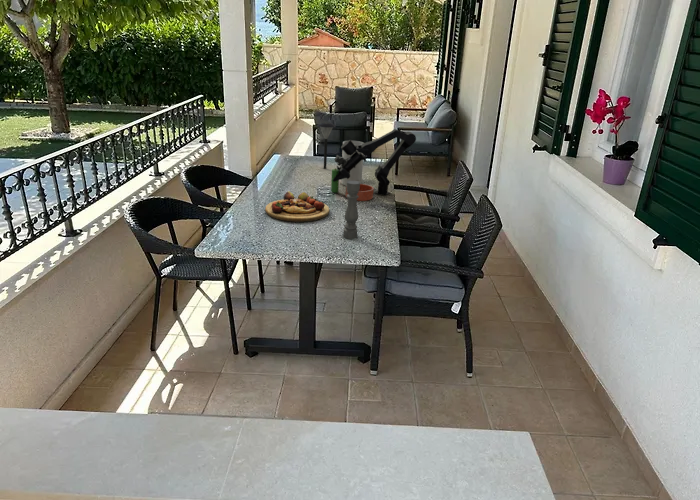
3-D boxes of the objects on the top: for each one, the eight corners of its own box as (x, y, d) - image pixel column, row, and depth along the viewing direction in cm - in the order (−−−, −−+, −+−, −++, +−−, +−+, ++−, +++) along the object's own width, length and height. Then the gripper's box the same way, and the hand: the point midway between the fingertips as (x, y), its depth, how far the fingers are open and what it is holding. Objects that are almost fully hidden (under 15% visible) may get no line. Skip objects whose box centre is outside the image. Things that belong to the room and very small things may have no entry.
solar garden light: (317, 165, 345) (319, 120, 333) (335, 167, 343) (337, 122, 332) (314, 169, 333) (315, 123, 322) (332, 171, 332) (334, 125, 320)
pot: (354, 191, 293) (354, 182, 290) (377, 196, 285) (378, 187, 283) (339, 197, 280) (340, 187, 278) (364, 203, 273) (365, 193, 271)
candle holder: (342, 233, 229) (345, 180, 219) (356, 234, 230) (359, 180, 220) (343, 238, 223) (346, 184, 213) (357, 239, 224) (361, 184, 214)
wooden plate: (278, 226, 233) (278, 209, 230) (256, 205, 259) (256, 190, 256) (340, 218, 247) (340, 202, 244) (314, 199, 273) (314, 185, 270)
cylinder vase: (350, 188, 298) (352, 145, 289) (336, 183, 307) (338, 141, 297) (365, 185, 306) (368, 143, 296) (352, 180, 315) (354, 140, 305)
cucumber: (333, 189, 290) (334, 167, 285) (339, 191, 288) (340, 168, 283) (329, 191, 287) (330, 168, 282) (335, 192, 285) (336, 169, 280)
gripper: (341, 147, 288) (321, 165, 290) (345, 154, 271) (324, 174, 273) (354, 161, 292) (334, 179, 295) (358, 169, 275) (337, 188, 278)
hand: (332, 180), depth 285 cm, fingers closed on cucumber, 4 cm apart
